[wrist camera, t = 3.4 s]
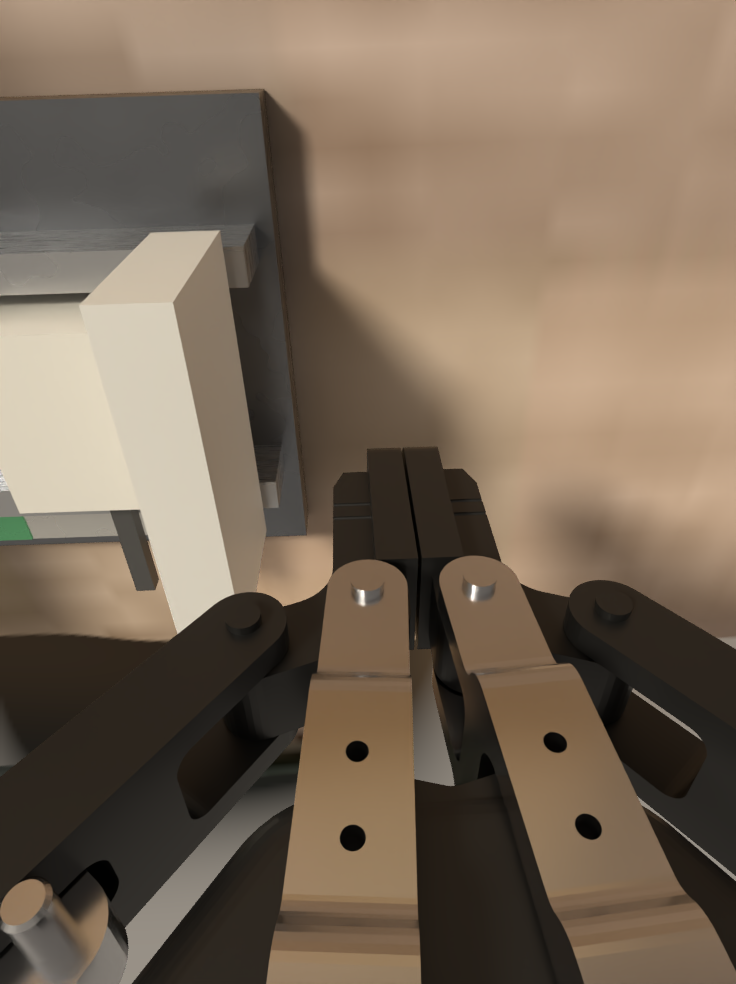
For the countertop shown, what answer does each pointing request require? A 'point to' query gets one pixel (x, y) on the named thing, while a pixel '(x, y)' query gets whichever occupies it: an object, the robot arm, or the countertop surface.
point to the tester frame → (128, 221)
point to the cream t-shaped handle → (140, 418)
